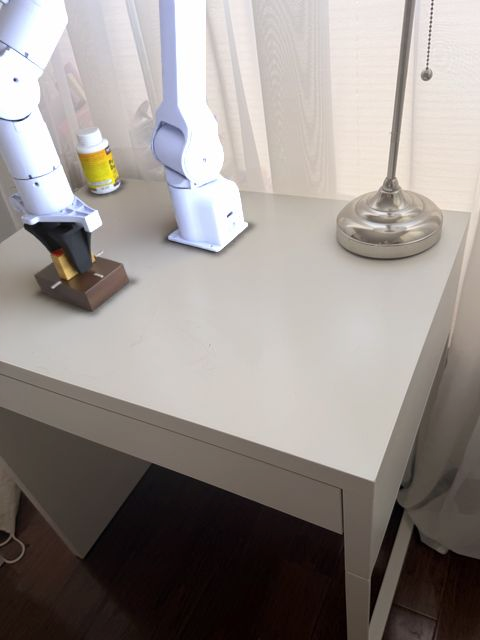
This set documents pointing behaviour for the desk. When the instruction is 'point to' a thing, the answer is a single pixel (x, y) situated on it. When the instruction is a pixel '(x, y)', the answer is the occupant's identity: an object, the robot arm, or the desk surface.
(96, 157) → the supplement bottle
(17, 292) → the desk surface
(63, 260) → the thumbturn
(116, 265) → the plate
